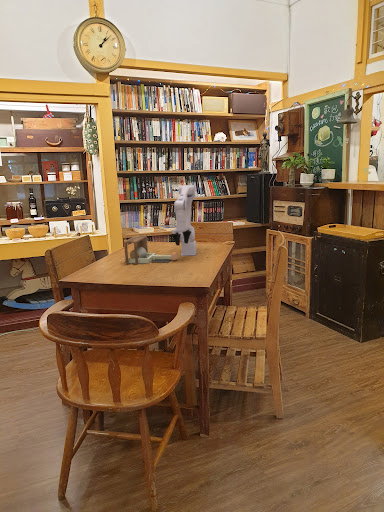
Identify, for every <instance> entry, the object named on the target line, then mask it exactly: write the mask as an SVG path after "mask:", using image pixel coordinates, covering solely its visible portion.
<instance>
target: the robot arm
mask: <svg viewBox="0 0 384 512" xmlns="http://www.w3.org/2000/svg"><path fill="white" fill-rule="evenodd" d="M178 194H179V195H178V196H177V199H176V200H175V201H174V204H173V206H174V207H173V208H174V213H175V224H176V225H175V226H176V228H174V229H173V230H172V229H171V236H172V238H173V240H174V242H175V245H176V246H179V247H180V244H181V247H180V248H181V253H180V254H179V255H180V256H181V257H182V256H183V257H185V256H196V255H197V254H198V253H197V252H198V250H197V246H198V245H197V241H196V240H195V239H196V231H195V229H196V228H195V227H194V226H193V225H191V221H192V219H191V218H192V203H193V200H195V198H196V186H195V184H189V185H188V184H184V185H183V184H182V185H180V184H179V186H178Z"/></svg>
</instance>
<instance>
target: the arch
mask: <svg viewBox="0 0 384 512" xmlns="http://www.w3.org/2000/svg"><path fill="white" fill-rule="evenodd" d="M123 244H124V257H125V258H124V261H125V260H126V263H125V265H126V266H127V265H129V264H130V263H128V258H129V252H128V250H129V249H128V244H133V247H134V248H133V250H134V251H135V263H134V264H135V265H139V263H138V255H137V248H139V247H143V248H144V249H145V250H146V252H147V253H149V250H148V249H149V248H148V246H149V245H148V236H147V235H146V234H145V235H135V236H132V237H130V238H128V239H127V240H124V241H123Z"/></svg>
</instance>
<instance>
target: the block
mask: <svg viewBox="0 0 384 512" xmlns="http://www.w3.org/2000/svg"><path fill="white" fill-rule="evenodd" d="M147 256H148V258H138V264H150V263H152V261H153V260H155V259H172V260H171V261H175V260H177V259H178V252H177V251H173V252H172V253H171V254H157V252H148V253H147ZM124 261H125V262H124V263H125V264H126V260H125V259H124ZM128 263H129V264H135V258H129V257H128Z"/></svg>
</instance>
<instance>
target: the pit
mask: <svg viewBox="0 0 384 512" xmlns="http://www.w3.org/2000/svg"><path fill="white" fill-rule="evenodd" d="M171 261H173V260H172V259H153V260H152V261H151V263H152V264H169V263H170V262H171Z"/></svg>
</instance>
